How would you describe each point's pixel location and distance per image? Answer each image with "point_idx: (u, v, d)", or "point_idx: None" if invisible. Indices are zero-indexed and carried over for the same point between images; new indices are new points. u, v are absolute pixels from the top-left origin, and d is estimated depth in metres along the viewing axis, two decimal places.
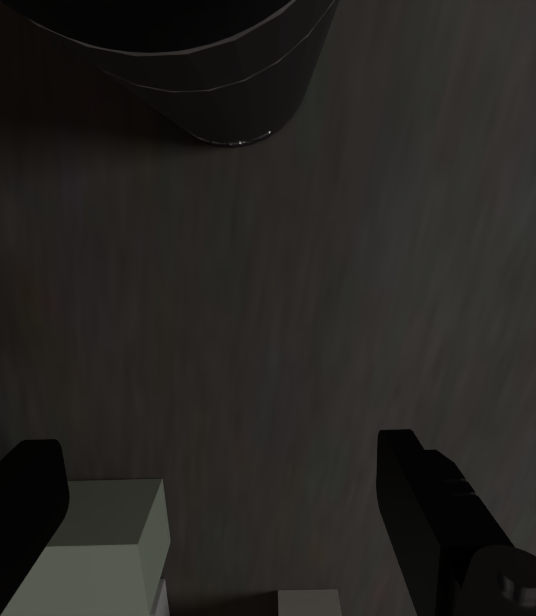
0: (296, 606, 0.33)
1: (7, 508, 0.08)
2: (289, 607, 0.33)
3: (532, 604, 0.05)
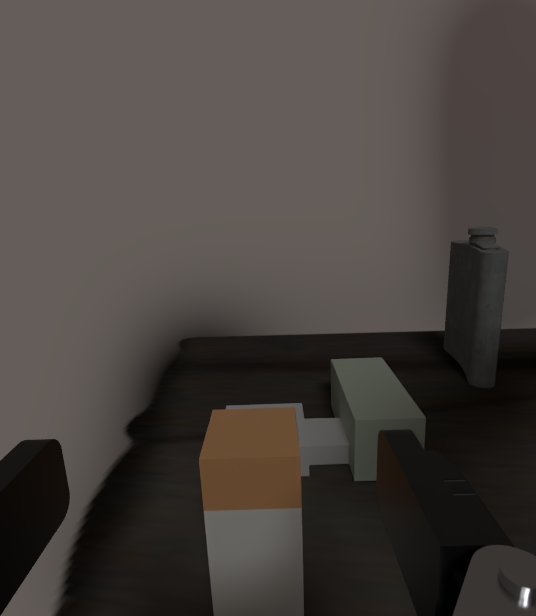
0: None
1: (7, 508, 0.08)
2: None
3: (532, 604, 0.05)
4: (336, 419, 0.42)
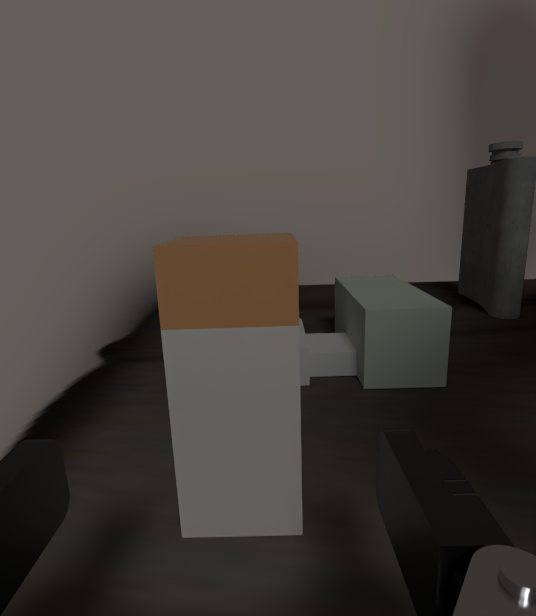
0: None
1: (7, 508, 0.08)
2: None
3: (532, 604, 0.05)
4: (341, 333, 0.36)
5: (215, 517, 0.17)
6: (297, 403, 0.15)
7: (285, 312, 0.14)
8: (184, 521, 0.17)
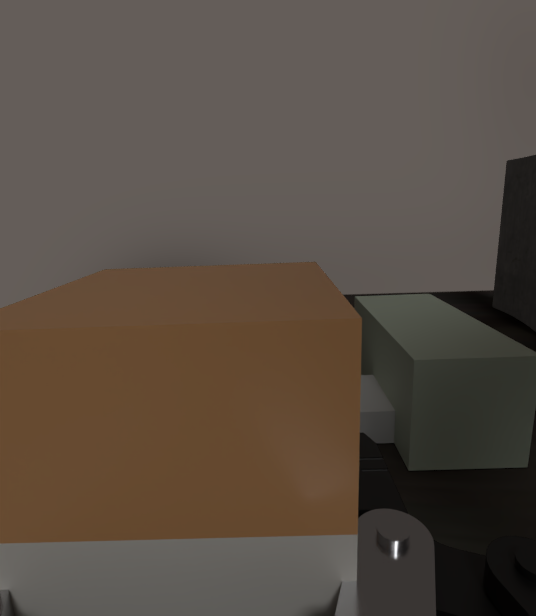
0: None
1: None
2: None
3: (397, 554, 0.06)
4: (368, 377, 0.27)
5: None
6: None
7: (321, 502, 0.05)
8: None
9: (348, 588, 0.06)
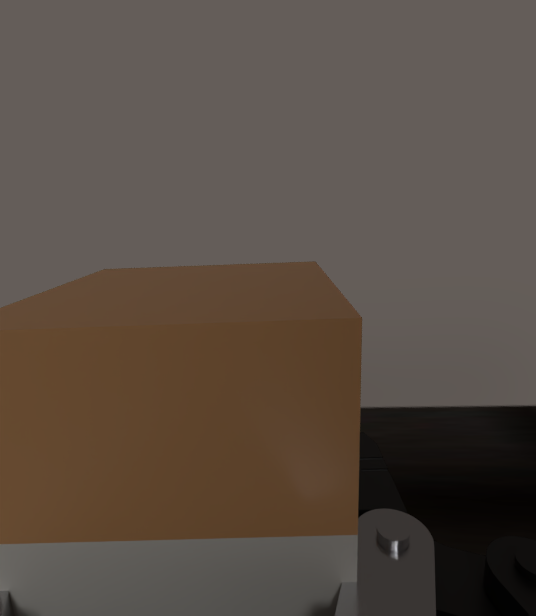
0: None
1: None
2: None
3: (397, 554, 0.06)
4: None
5: None
6: None
7: (321, 503, 0.05)
8: None
9: (348, 588, 0.06)
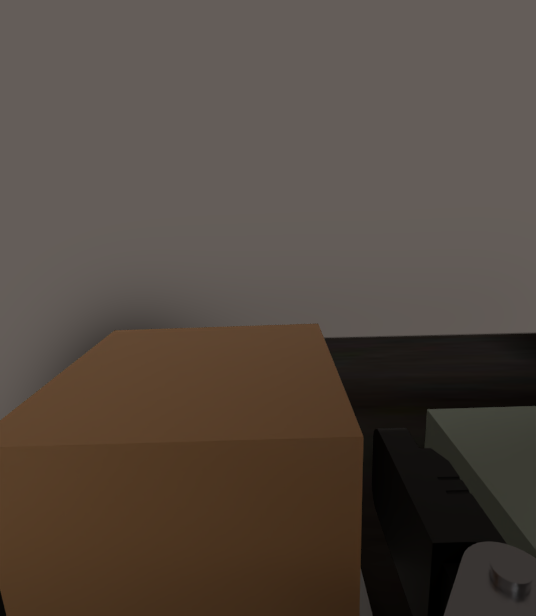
0: None
1: None
2: None
3: (522, 599, 0.05)
4: None
5: None
6: None
7: (325, 597, 0.06)
8: None
9: None
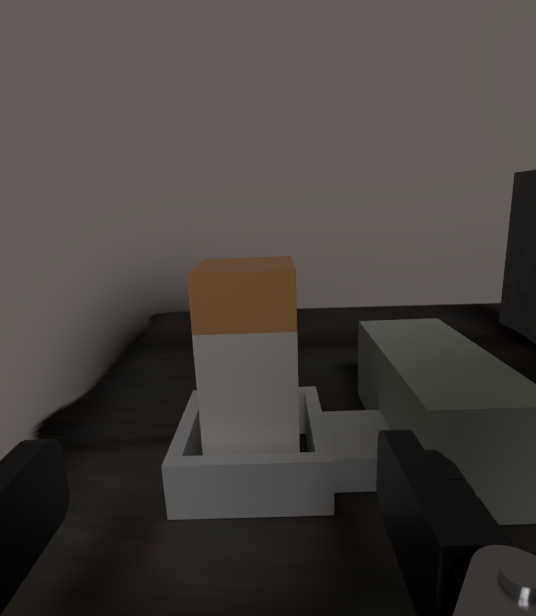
0: None
1: (7, 508, 0.08)
2: None
3: (532, 604, 0.05)
4: (374, 412, 0.25)
5: None
6: (296, 391, 0.20)
7: (286, 321, 0.19)
8: None
9: None
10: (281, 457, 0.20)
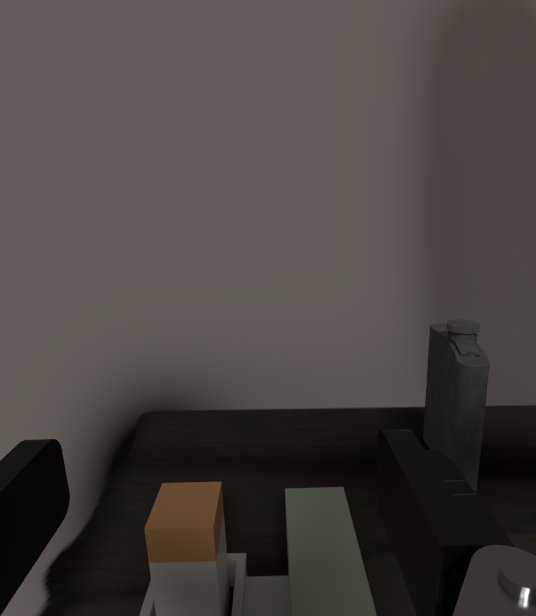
0: (227, 598, 0.35)
1: (7, 508, 0.08)
2: (228, 591, 0.36)
3: (532, 604, 0.05)
4: (284, 578, 0.36)
5: None
6: (217, 594, 0.31)
7: (209, 555, 0.30)
8: None
9: None
10: None
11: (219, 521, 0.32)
